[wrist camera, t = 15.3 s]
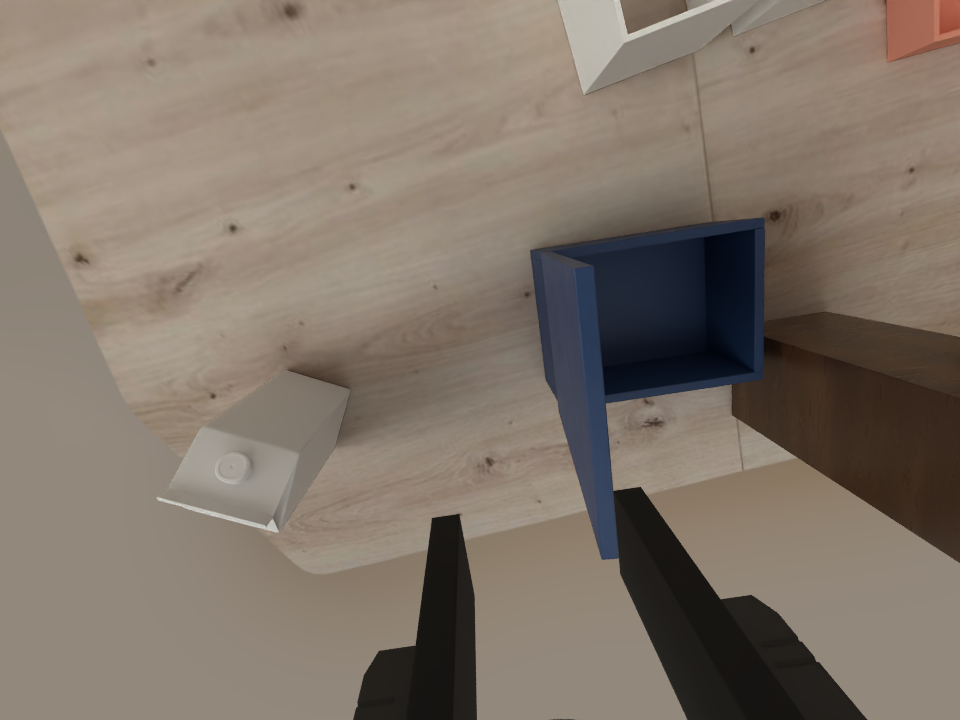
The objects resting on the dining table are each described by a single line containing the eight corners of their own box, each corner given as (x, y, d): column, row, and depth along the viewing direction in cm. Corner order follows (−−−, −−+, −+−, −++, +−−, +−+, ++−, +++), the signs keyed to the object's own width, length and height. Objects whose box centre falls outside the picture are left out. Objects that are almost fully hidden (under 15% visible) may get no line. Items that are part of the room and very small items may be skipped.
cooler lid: (594, 265, 18) (573, 268, 18) (619, 558, 21) (601, 560, 21) (550, 251, 35) (540, 252, 35) (568, 411, 39) (559, 412, 39)
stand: (732, 415, 49) (1054, 624, 22) (731, 326, 47) (1093, 440, 20) (823, 401, 49) (1258, 595, 22) (826, 311, 47) (1324, 406, 20)
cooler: (707, 222, 44) (765, 217, 36) (710, 355, 48) (763, 379, 39) (530, 250, 44) (544, 251, 36) (545, 380, 48) (562, 410, 39)
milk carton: (335, 447, 49) (255, 570, 31) (270, 429, 48) (148, 543, 30) (351, 388, 47) (277, 481, 29) (284, 368, 47) (164, 450, 28)
